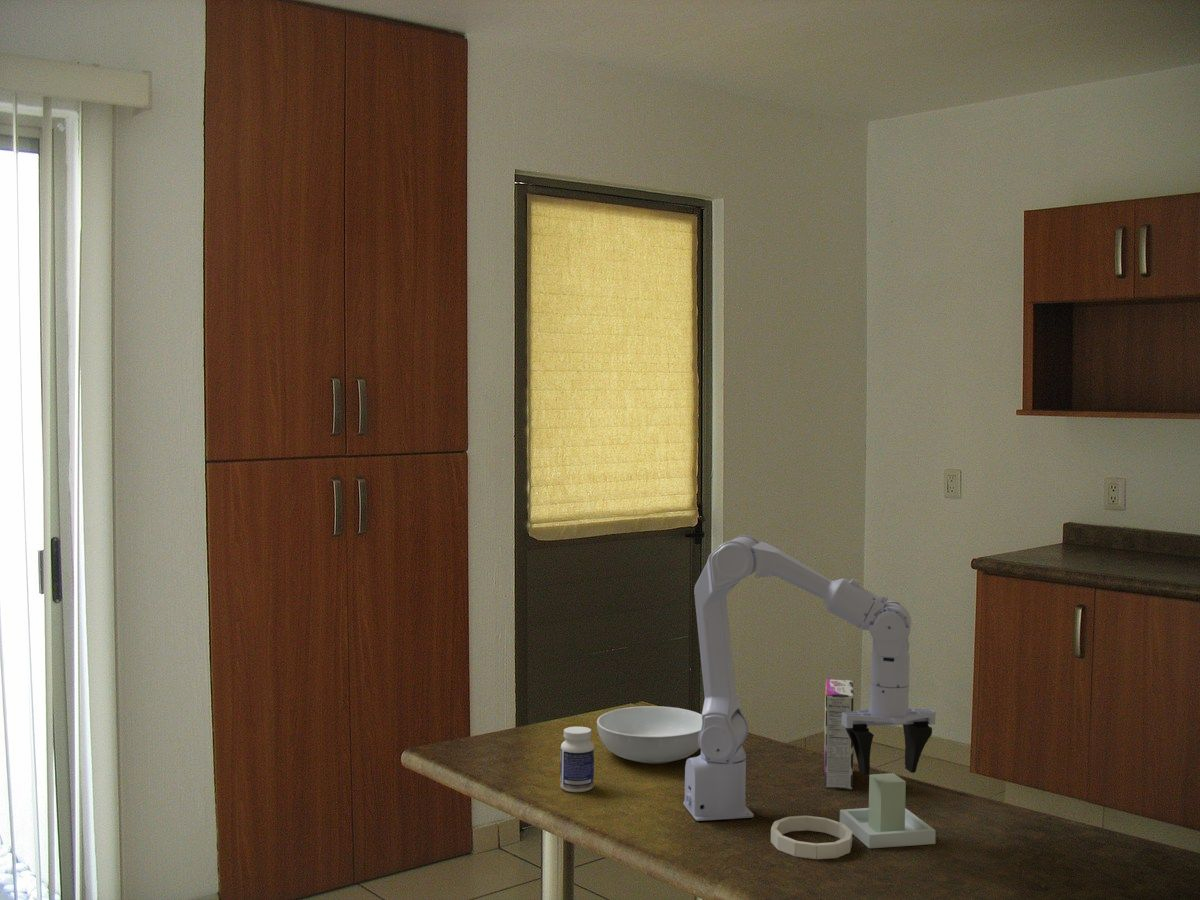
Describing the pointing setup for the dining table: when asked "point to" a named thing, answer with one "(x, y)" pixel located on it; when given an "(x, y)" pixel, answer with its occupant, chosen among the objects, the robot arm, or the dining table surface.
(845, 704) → the candy bar box
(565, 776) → the pill bottle
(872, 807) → the peg
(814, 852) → the collar
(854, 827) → the tray
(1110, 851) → the dining table surface
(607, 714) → the serving bowl
